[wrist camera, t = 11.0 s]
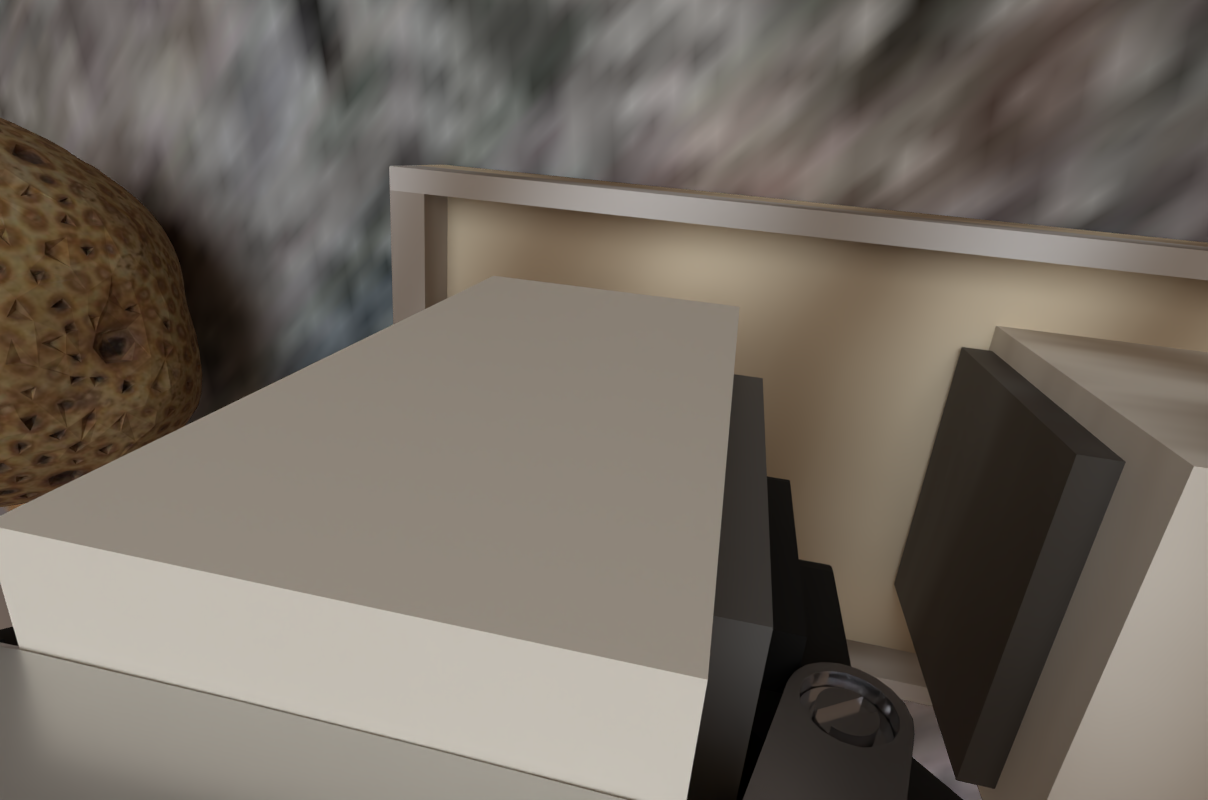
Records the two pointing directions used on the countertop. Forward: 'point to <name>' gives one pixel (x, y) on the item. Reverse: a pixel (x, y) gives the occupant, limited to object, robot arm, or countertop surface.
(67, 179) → the natural sponge
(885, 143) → the countertop surface
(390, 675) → the tall beige carton
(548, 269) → the beige tray with blocks
